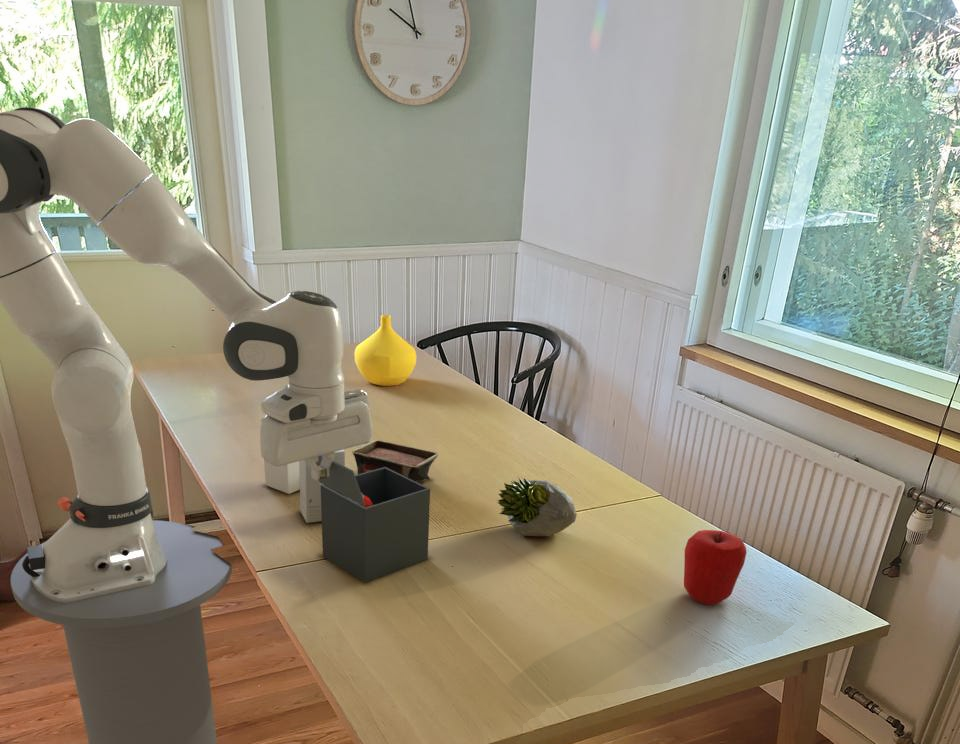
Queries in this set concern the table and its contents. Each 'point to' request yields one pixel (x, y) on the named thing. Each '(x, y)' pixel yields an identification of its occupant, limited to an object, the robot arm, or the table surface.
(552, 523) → the potted plant
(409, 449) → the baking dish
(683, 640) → the table surface
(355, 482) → the flap
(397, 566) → the carton
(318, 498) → the cosmetic box
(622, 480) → the table surface
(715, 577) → the apple
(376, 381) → the vase
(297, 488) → the milk carton
